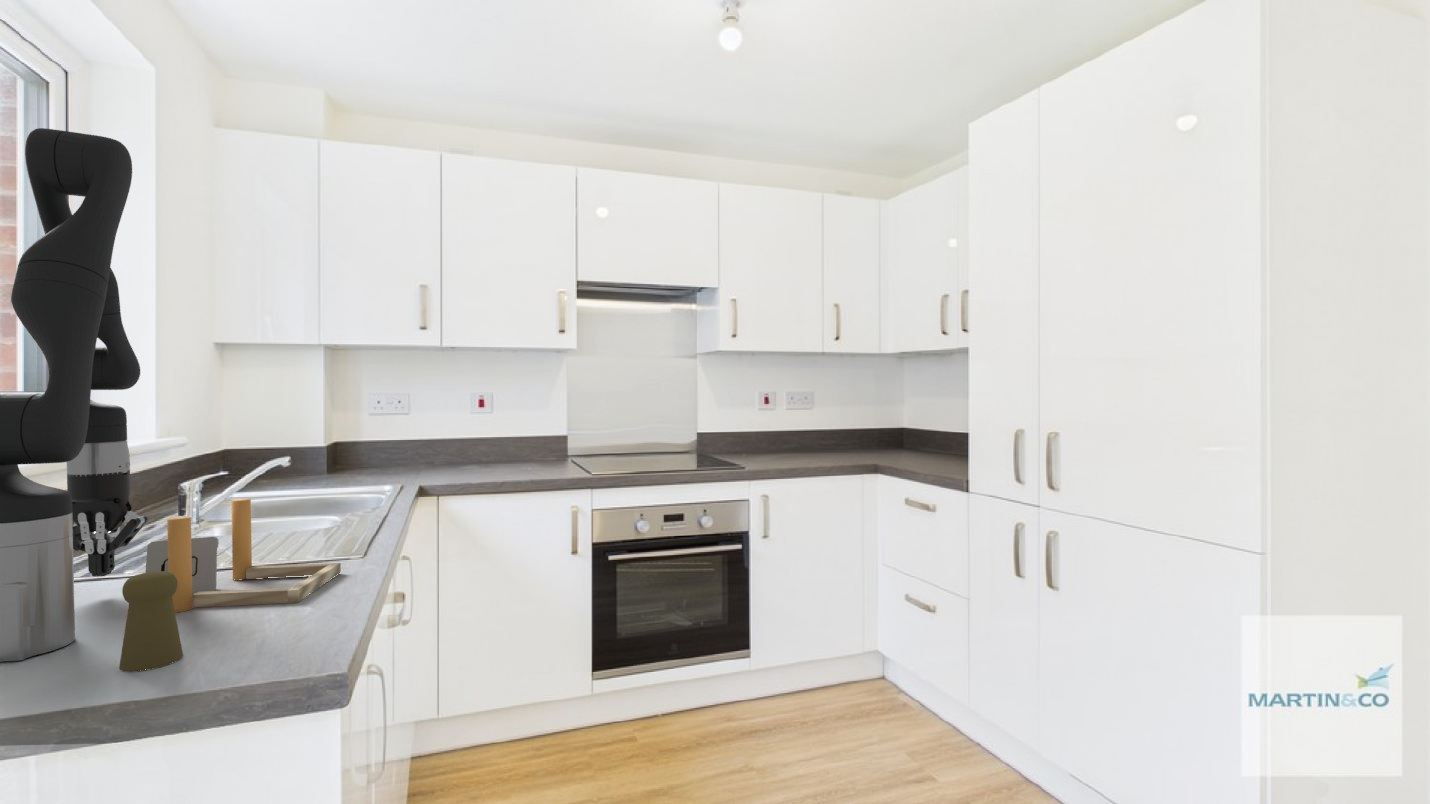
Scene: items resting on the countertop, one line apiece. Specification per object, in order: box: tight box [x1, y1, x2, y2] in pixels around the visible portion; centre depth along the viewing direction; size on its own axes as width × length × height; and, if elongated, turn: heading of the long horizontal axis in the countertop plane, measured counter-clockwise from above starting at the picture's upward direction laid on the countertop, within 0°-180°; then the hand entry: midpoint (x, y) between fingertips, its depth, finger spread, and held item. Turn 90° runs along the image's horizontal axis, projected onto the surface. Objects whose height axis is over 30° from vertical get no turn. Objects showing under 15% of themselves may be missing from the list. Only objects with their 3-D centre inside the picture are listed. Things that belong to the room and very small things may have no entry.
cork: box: [118, 571, 184, 673], centre depth 82 cm, size 6×6×11 cm
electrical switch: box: [144, 536, 219, 596], centre depth 110 cm, size 9×5×9 cm, turn 116°
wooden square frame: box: [192, 562, 342, 608], centre depth 112 cm, size 16×15×2 cm
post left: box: [166, 516, 194, 614], centre depth 101 cm, size 3×3×14 cm
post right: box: [231, 498, 253, 581], centre depth 118 cm, size 3×3×14 cm
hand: (102, 575), depth 108 cm, fingers closed
